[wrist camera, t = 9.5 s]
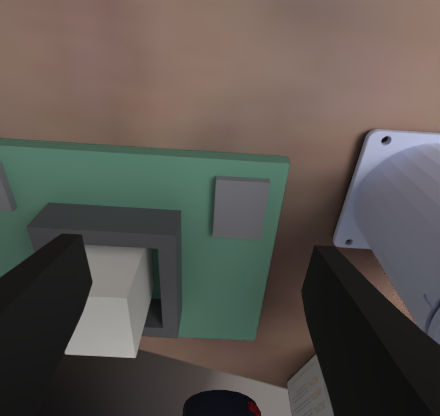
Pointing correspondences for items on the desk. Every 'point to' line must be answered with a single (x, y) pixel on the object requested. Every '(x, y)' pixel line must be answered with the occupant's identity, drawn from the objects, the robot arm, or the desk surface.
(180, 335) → the board
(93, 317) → the plug block
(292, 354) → the desk surface
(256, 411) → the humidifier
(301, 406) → the small box
